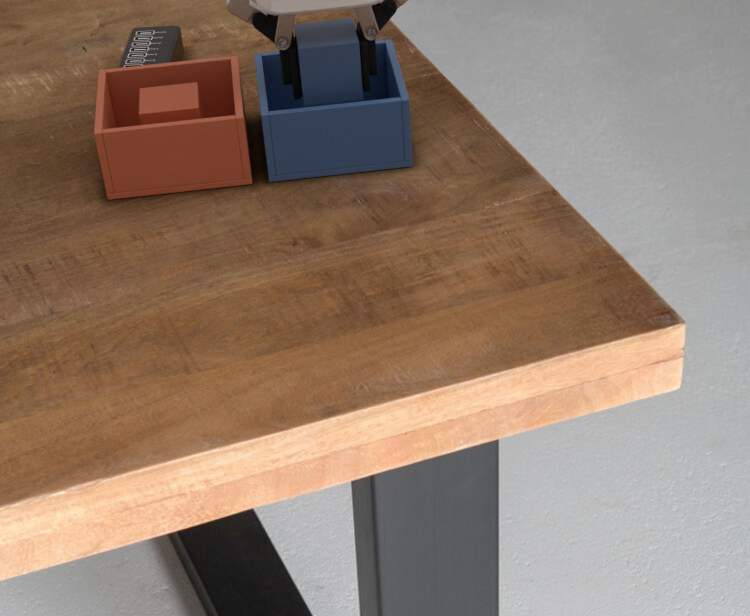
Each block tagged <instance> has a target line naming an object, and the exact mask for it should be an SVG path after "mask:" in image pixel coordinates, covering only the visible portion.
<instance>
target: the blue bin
mask: <svg viewBox="0 0 750 616" xmlns="http://www.w3.org/2000/svg"><path fill="white" fill-rule="evenodd" d="M375 43H376V59H377V75H374V76H369V77H370V91H368V92H364V91H363V90H362V91H363V100H359V101H350V102H341V103H332V104H323V105H314V106H305V107H304V103H303V97H301V99H296V100H294V95H293V88H292V85H283V79H282V70H281V62H280V53H279V50H274V51H267V52H266V51H265V52H258V53H253V60H254V67H255V76H256V85H257V92H258V101H259V111H260V118H261V126H262V136H263V143H264V150H265V158H266V159H265V160H266V167H267V176H268V182H269V183H275V182H283V181H292V180H293V181H294V180H301V179H310V178H320V177H328V176H329V177H330V176H337V175H348V174H356V173H357V174H358V173H366V172H374V171H383V170H393V169H402V168H410V167H413V165H414V164H413V147H412V126H411V125H412V122H411V101H410V100H411V99H410V97H409V94H408V90H407V86H406V84H405V79H404V76H403V72H402V70H401V66H400V62H399V60H398V57H397V56H398V55H397V53H396V52H397V51H396V49H395V45H394V41H393V40H392V38H389V39H380V40H379V39H378V40H375Z"/></svg>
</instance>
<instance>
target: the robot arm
mask: <svg viewBox="0 0 750 616" xmlns="http://www.w3.org/2000/svg"><path fill="white" fill-rule="evenodd" d="M408 1H409V0H255V2H256V3H255V2H254V1H253V0H226V1H225V2H226V10H227V12H229V13H230V14H231V15H233V16H235V17H236V18H239V19H240V20H242V21H244V22H245V23H248V24H250V25H251V26H253V28H254V29H255V30H257V32H259V33H260V34H262V35H263V36H264V37H266V38H267V39H268V40H269V41H270V42H272V43H273V44H274V45H275V48H276V49H278V51H279V53H280V62H281V70H282V79H283V85H292V88H293V95H294V100H296V99H301V97H303V95H302V85H301V76H300V66H299V56H298V49H297V43H296V37H295V33H294V24H295V17H296V15H304V14H313V13H314V14H315V13H322V12H323V13H324V12H332V11H340V10H351V9H354V11H355V13H356V16H357V19H358V22H357V23H356V25H355V29H356V33H357V37H358V41H359V50H360V63H361V77H362V90H363V91H364V92H368V91H370V77H369V76H374V75H377V59H376V43H375V41H376V40H377V39H378V38H379V36H380V31H382V30H383V28H384V27H385V26H386V25H387V23H389V21H390V20H391V19H392V18H393V16H395V14H396V13H397V10H398V9H399V8H400V7H402V6H404V5H405V4H406V3H407V2H408Z"/></svg>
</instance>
